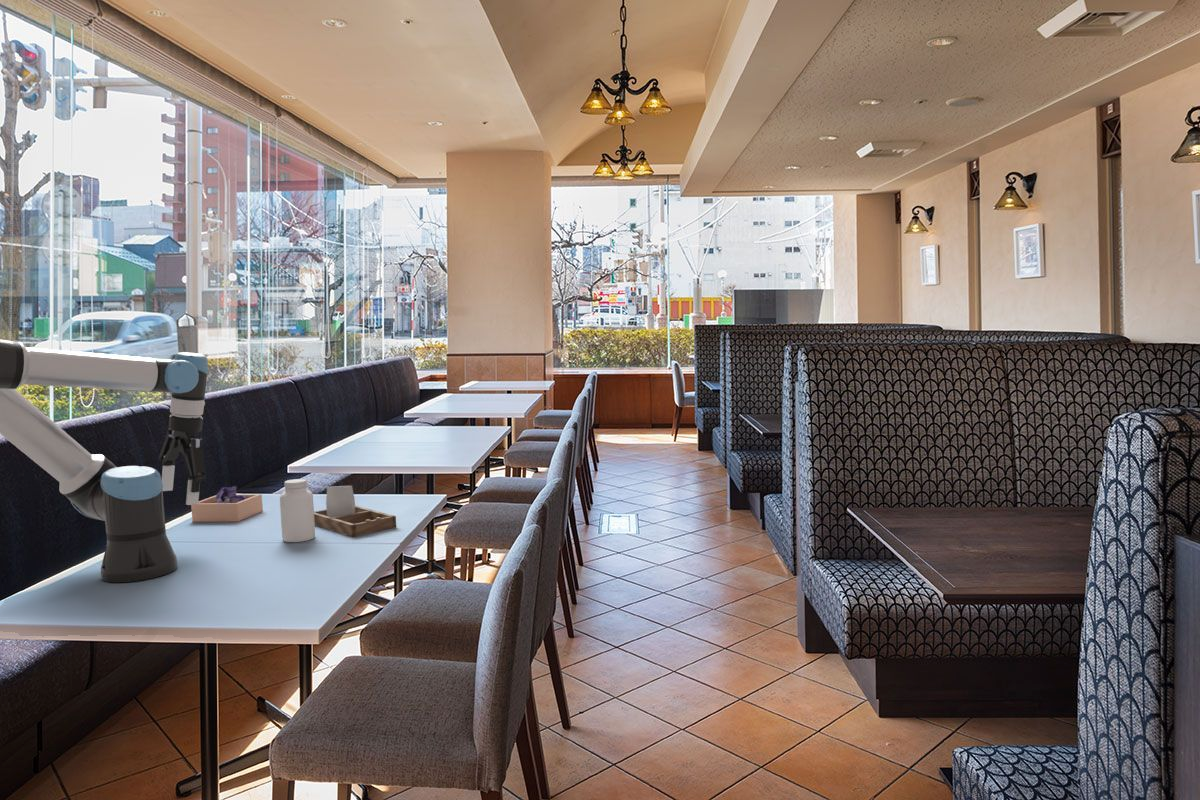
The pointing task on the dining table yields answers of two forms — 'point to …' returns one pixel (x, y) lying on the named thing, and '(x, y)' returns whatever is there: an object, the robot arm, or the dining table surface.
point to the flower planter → (226, 509)
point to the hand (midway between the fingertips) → (179, 497)
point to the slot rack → (356, 521)
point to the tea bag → (340, 501)
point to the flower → (229, 495)
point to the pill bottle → (297, 512)
